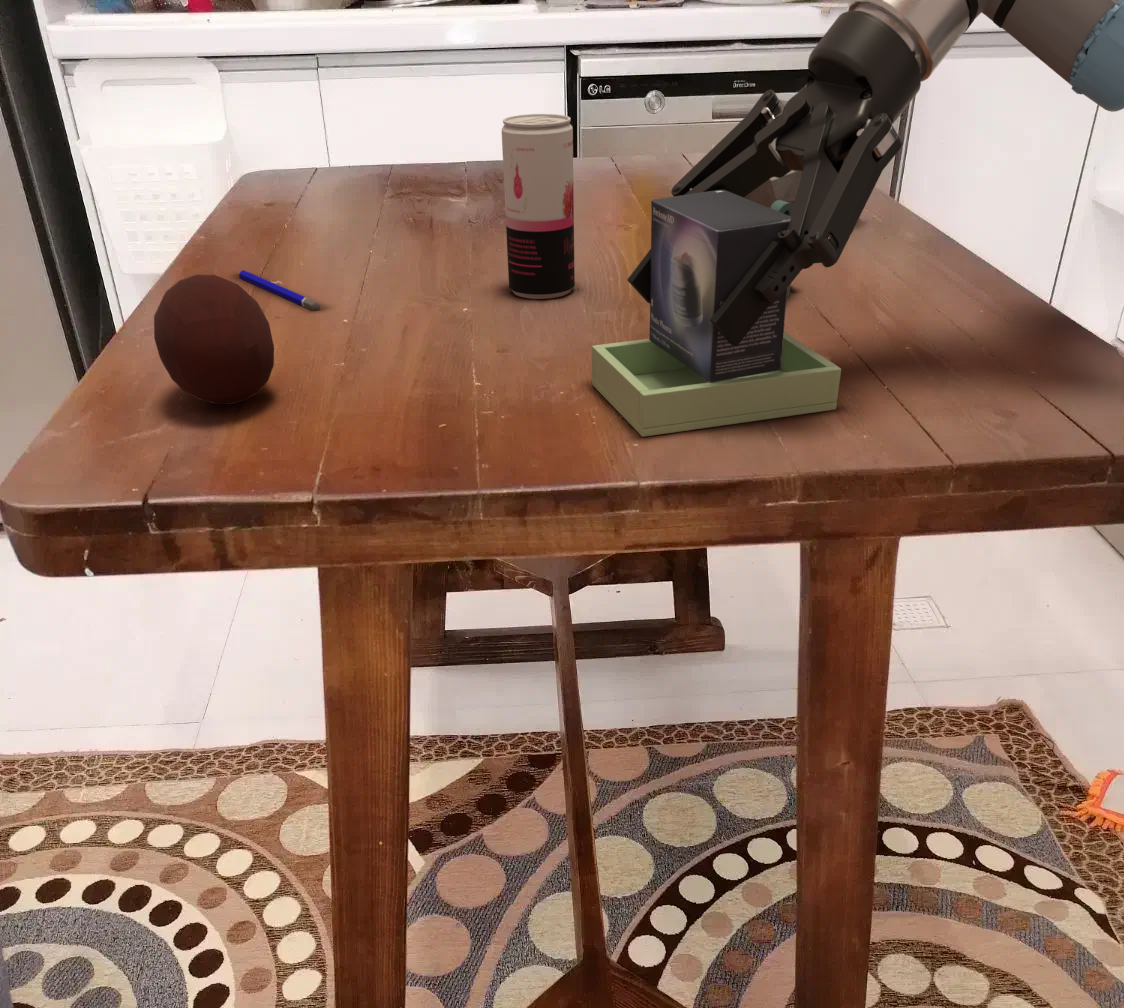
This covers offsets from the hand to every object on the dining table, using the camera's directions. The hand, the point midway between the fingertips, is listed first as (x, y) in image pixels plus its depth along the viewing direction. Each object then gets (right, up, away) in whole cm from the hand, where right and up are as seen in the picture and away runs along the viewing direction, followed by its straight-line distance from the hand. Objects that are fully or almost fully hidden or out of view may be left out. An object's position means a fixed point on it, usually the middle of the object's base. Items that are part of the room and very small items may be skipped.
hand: (679, 312), depth 80 cm
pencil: (-38, +14, +31) cm, 51 cm away
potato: (-35, -4, +7) cm, 36 cm away
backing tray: (+3, -4, +5) cm, 7 cm away
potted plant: (+19, +30, +49) cm, 60 cm away
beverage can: (-11, +14, +29) cm, 34 cm away
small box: (+3, -2, +3) cm, 5 cm away
